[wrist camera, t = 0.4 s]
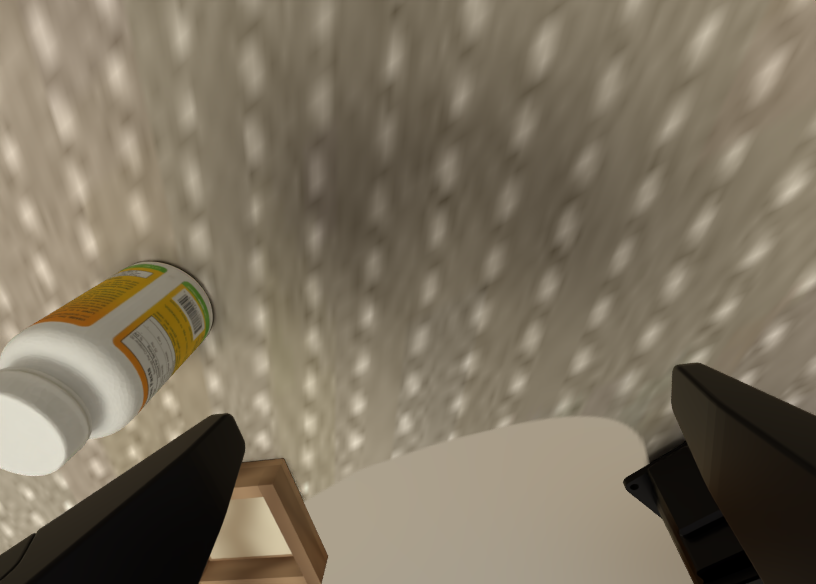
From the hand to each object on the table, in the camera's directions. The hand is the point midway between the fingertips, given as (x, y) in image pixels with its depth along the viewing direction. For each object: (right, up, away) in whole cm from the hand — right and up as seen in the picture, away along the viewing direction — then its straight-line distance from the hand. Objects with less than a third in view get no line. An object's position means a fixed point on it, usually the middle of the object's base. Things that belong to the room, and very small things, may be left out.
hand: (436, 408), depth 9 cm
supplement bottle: (-14, +2, +15) cm, 20 cm away
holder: (-12, -14, +22) cm, 29 cm away
